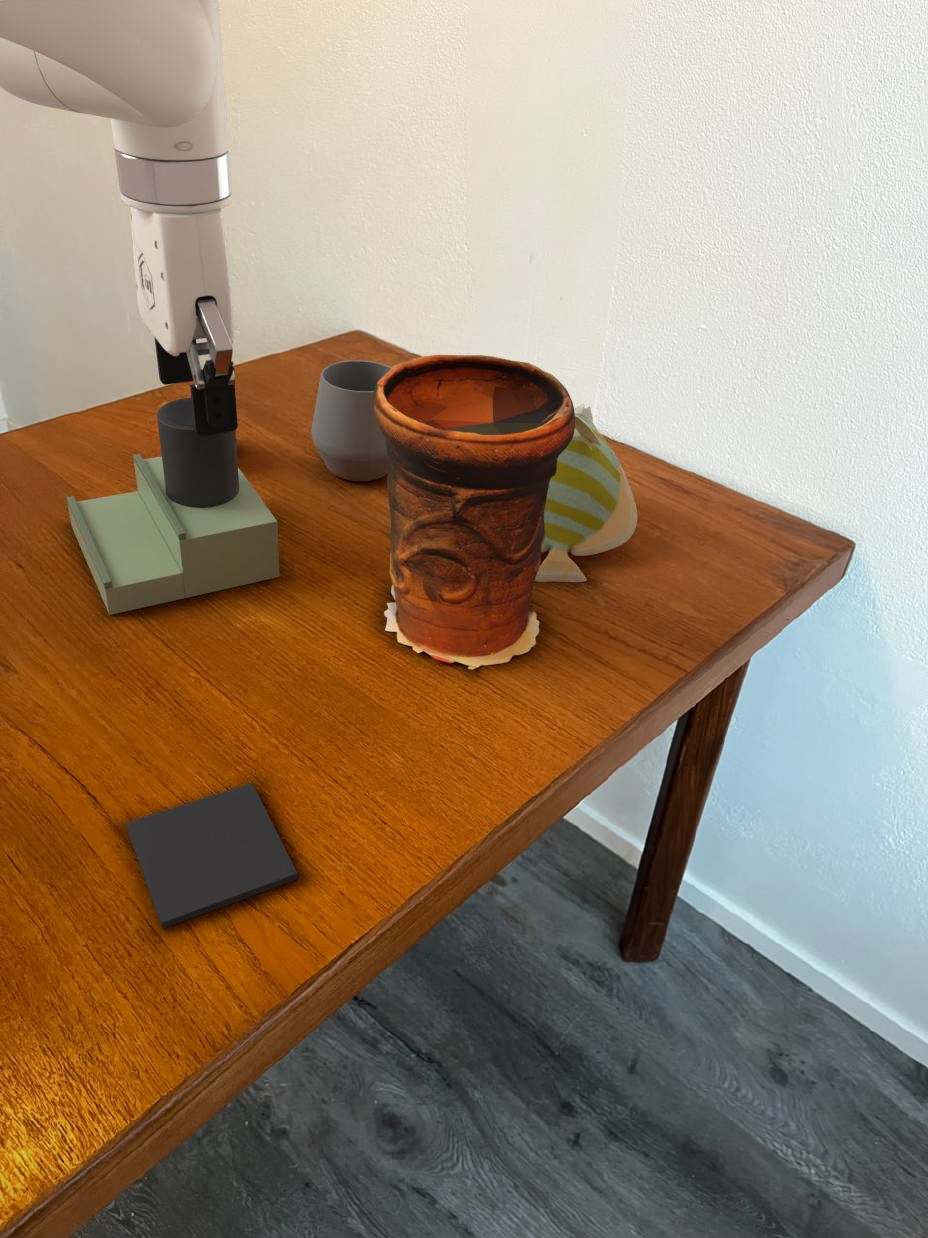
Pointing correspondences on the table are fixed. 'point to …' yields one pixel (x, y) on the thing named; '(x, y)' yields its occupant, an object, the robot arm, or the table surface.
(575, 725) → the table surface
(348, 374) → the cup
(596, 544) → the decorative fish sculpture
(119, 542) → the green stepped riser
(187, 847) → the pad
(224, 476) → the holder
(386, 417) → the vessel
